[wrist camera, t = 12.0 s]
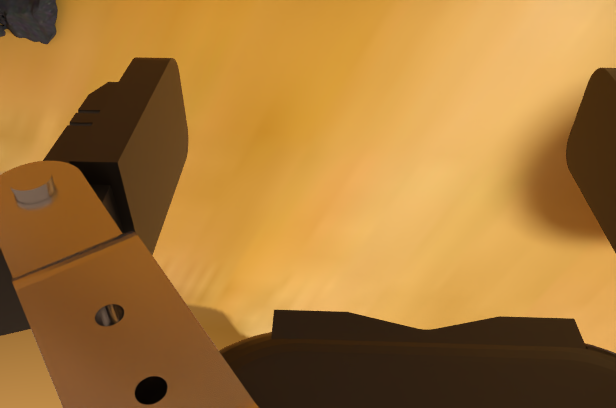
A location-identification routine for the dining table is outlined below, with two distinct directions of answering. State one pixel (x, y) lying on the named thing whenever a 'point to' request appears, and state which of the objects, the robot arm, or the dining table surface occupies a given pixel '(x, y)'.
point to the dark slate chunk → (29, 19)
